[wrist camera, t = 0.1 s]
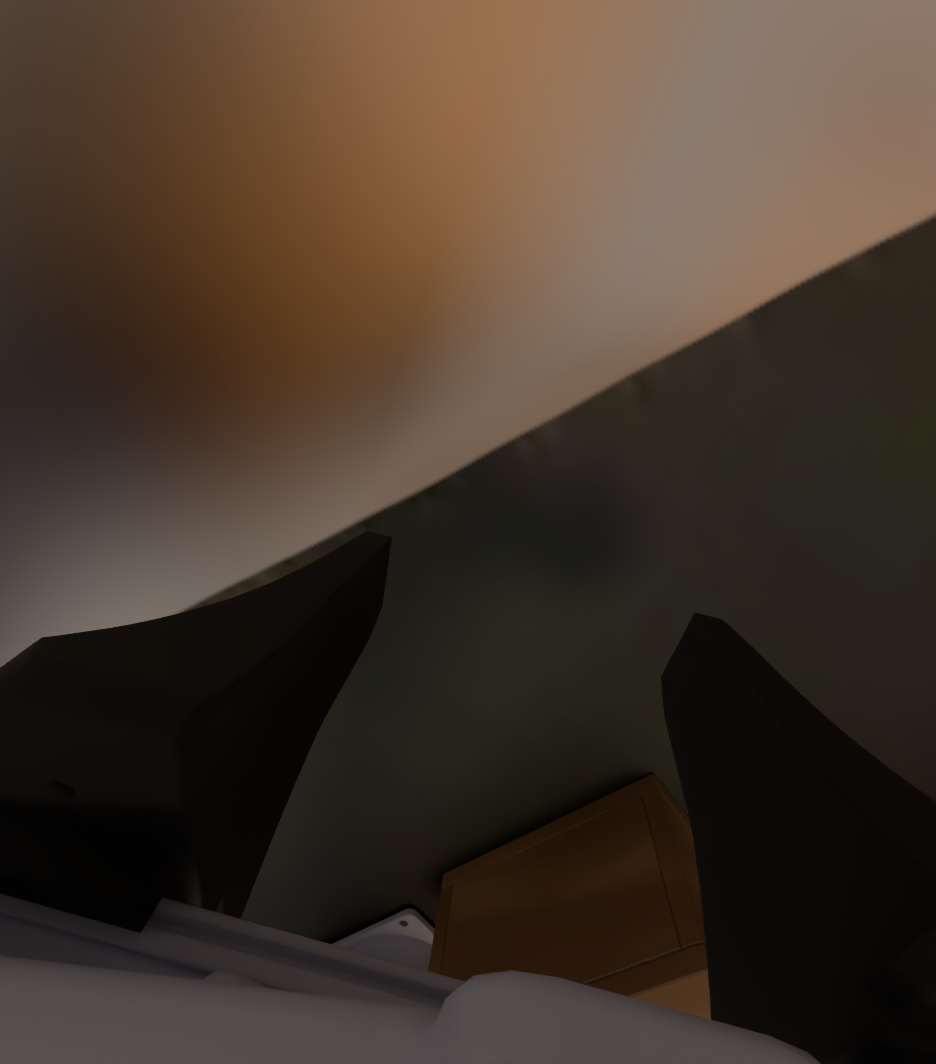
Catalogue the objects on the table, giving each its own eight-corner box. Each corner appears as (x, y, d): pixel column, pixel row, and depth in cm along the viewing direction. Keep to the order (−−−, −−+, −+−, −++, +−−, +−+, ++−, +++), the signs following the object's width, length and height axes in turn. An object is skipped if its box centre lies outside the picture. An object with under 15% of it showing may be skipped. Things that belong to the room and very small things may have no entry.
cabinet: (806, 964, 29) (920, 1210, 20) (597, 1033, 32) (621, 1263, 24) (653, 772, 26) (712, 969, 17) (443, 873, 30) (409, 1073, 21)
